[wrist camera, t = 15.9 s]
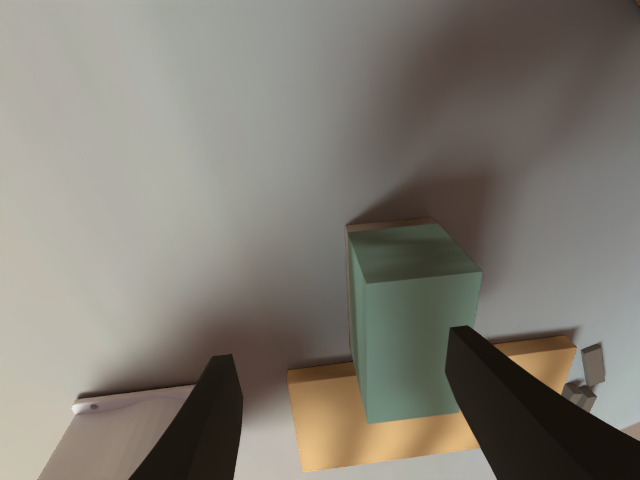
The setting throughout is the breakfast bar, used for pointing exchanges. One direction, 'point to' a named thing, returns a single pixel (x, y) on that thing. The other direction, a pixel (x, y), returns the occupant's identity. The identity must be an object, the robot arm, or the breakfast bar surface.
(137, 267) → the breakfast bar surface
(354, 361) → the block
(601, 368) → the small grey brown block
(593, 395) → the small grey brown block
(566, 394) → the grey brown rectangular bar
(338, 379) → the oak board
